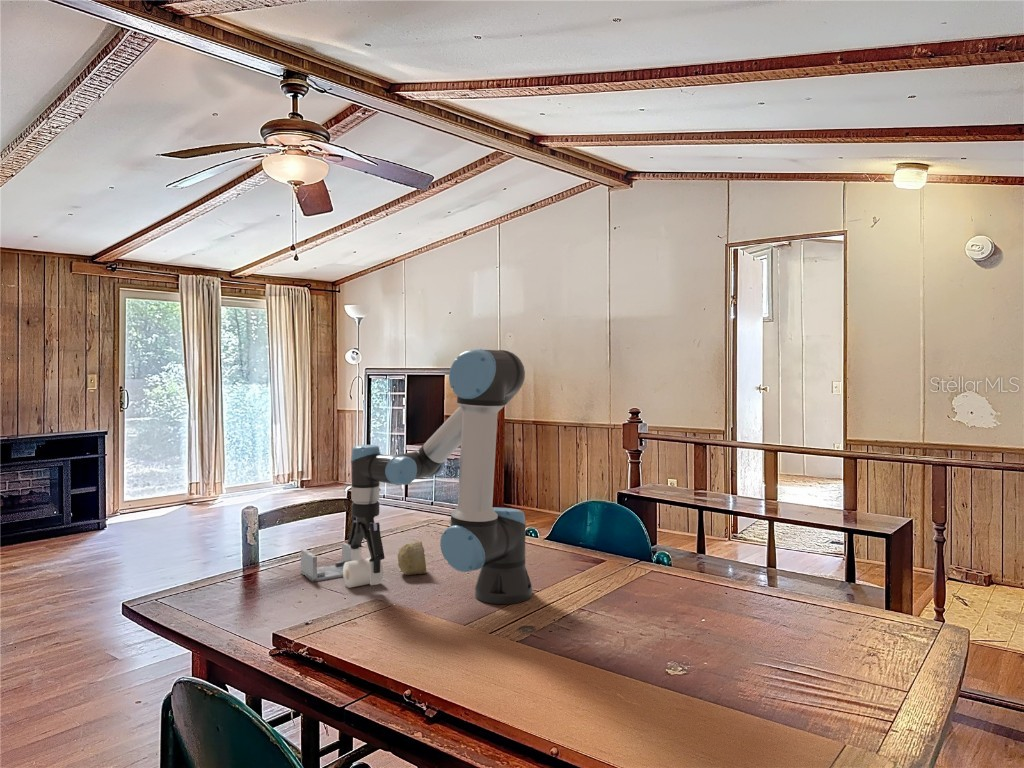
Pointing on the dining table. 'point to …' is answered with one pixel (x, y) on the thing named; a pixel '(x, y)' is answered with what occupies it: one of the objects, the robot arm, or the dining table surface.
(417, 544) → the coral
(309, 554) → the cradle
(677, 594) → the dining table surface
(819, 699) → the dining table surface
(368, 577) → the roll
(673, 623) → the dining table surface
